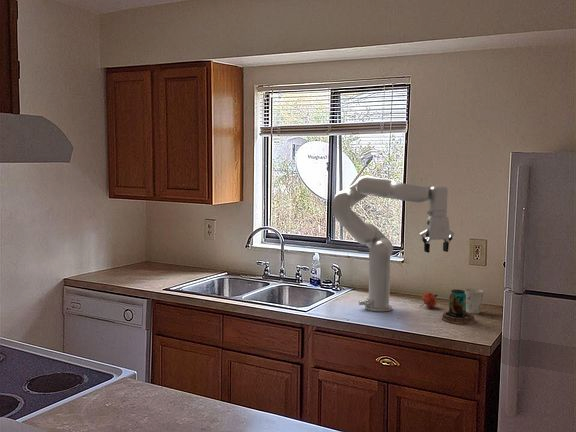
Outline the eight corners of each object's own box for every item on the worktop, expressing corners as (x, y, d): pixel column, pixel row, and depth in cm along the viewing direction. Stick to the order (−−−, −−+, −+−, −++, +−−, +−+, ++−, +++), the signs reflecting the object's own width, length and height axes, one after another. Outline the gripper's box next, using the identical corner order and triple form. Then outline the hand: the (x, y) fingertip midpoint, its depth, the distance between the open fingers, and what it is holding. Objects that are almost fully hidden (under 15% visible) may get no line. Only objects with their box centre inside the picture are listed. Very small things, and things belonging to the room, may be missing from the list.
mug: (479, 315, 286) (480, 293, 285) (452, 311, 293) (453, 289, 292) (484, 311, 293) (485, 290, 292) (457, 307, 300) (458, 286, 299)
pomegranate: (422, 313, 296) (440, 302, 293) (413, 300, 298) (431, 289, 294) (425, 311, 303) (443, 301, 299) (417, 298, 304) (434, 287, 301)
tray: (453, 325, 268) (454, 319, 268) (435, 317, 281) (435, 311, 281) (481, 323, 273) (481, 317, 272) (462, 314, 286) (462, 309, 286)
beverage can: (445, 317, 277) (446, 290, 276) (454, 314, 282) (455, 288, 281) (459, 320, 272) (461, 293, 271) (468, 318, 277) (469, 291, 276)
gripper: (425, 214, 277) (424, 253, 278) (459, 214, 282) (457, 252, 284) (416, 213, 284) (415, 251, 285) (449, 212, 289) (447, 249, 291)
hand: (436, 251), depth 285 cm, fingers open, 9 cm apart
